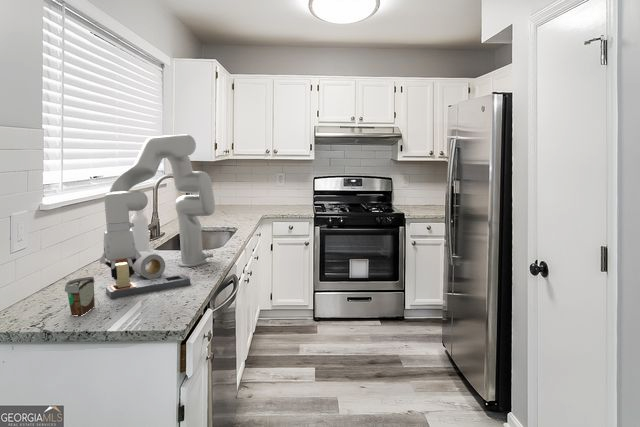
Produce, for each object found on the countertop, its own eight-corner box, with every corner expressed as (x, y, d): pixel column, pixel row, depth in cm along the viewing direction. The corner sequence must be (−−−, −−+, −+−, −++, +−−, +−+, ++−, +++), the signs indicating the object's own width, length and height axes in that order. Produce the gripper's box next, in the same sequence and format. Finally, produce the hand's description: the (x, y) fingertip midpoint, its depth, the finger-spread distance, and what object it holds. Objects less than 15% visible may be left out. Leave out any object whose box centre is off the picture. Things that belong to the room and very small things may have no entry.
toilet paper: (166, 276, 189) (164, 252, 188) (141, 281, 183) (139, 256, 182) (156, 272, 197) (154, 249, 196) (132, 276, 190) (130, 253, 189)
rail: (182, 280, 182) (182, 273, 182) (190, 284, 175) (190, 277, 174) (106, 293, 166) (105, 285, 166) (111, 299, 159) (110, 291, 159)
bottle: (150, 258, 225) (145, 197, 221) (151, 261, 218) (146, 198, 214) (132, 260, 222) (127, 198, 218) (133, 263, 215) (128, 199, 211)
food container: (77, 306, 152) (74, 277, 151) (96, 305, 152) (94, 276, 151) (59, 319, 140) (56, 287, 138) (80, 318, 140) (77, 286, 139)
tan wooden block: (127, 283, 168) (125, 262, 167) (130, 285, 165) (128, 263, 164) (115, 285, 166) (114, 263, 165) (118, 287, 162) (116, 265, 161)
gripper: (140, 224, 171) (143, 272, 173) (90, 228, 161) (94, 279, 163) (145, 226, 164) (149, 276, 166) (94, 231, 155) (98, 284, 157)
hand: (122, 277), depth 165 cm, fingers closed on tan wooden block, 4 cm apart
